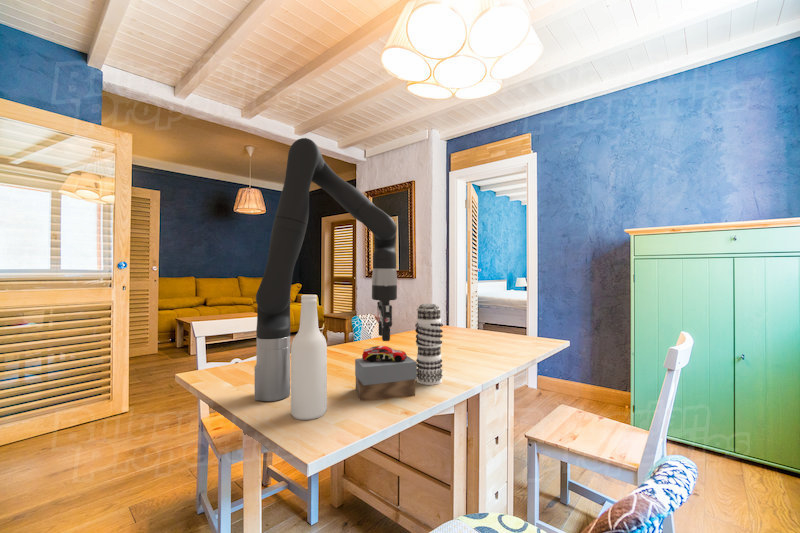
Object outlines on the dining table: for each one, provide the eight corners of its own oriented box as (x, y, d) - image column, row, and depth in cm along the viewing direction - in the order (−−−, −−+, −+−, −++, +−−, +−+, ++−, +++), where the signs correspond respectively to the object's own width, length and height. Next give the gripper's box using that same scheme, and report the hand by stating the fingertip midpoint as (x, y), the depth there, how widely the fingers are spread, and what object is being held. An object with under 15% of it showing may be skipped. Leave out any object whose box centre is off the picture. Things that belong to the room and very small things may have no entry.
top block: (363, 385, 97) (363, 367, 97) (355, 375, 106) (355, 358, 106) (416, 379, 102) (416, 361, 103) (404, 370, 112) (404, 354, 112)
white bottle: (284, 413, 89) (284, 295, 90) (315, 404, 95) (315, 293, 96) (302, 424, 83) (302, 296, 83) (333, 413, 89) (333, 294, 89)
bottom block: (359, 402, 98) (359, 384, 98) (355, 390, 108) (355, 374, 108) (415, 397, 102) (414, 379, 102) (406, 386, 111) (406, 370, 112)
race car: (407, 358, 107) (407, 345, 107) (406, 362, 102) (406, 349, 102) (364, 357, 108) (364, 344, 108) (361, 362, 103) (361, 348, 103)
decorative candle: (443, 376, 120) (442, 303, 120) (443, 385, 110) (443, 305, 111) (416, 376, 121) (415, 303, 121) (414, 384, 111) (414, 305, 112)
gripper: (369, 283, 112) (369, 334, 112) (374, 284, 98) (374, 343, 98) (392, 283, 113) (392, 333, 113) (401, 284, 99) (400, 342, 99)
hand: (384, 338), depth 105 cm, fingers open, 8 cm apart
